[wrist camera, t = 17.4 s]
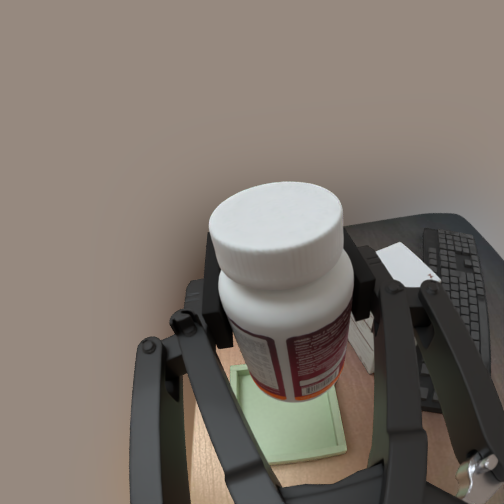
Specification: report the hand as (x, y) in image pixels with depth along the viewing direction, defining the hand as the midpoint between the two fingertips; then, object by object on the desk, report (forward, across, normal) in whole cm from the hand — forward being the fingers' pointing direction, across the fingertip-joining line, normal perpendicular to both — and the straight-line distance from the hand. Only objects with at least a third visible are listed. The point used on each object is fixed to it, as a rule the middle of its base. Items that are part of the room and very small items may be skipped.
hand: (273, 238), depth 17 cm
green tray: (-3, -2, -21) cm, 21 cm away
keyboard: (+5, +26, -21) cm, 34 cm away
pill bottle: (-5, 0, -7) cm, 8 cm away
